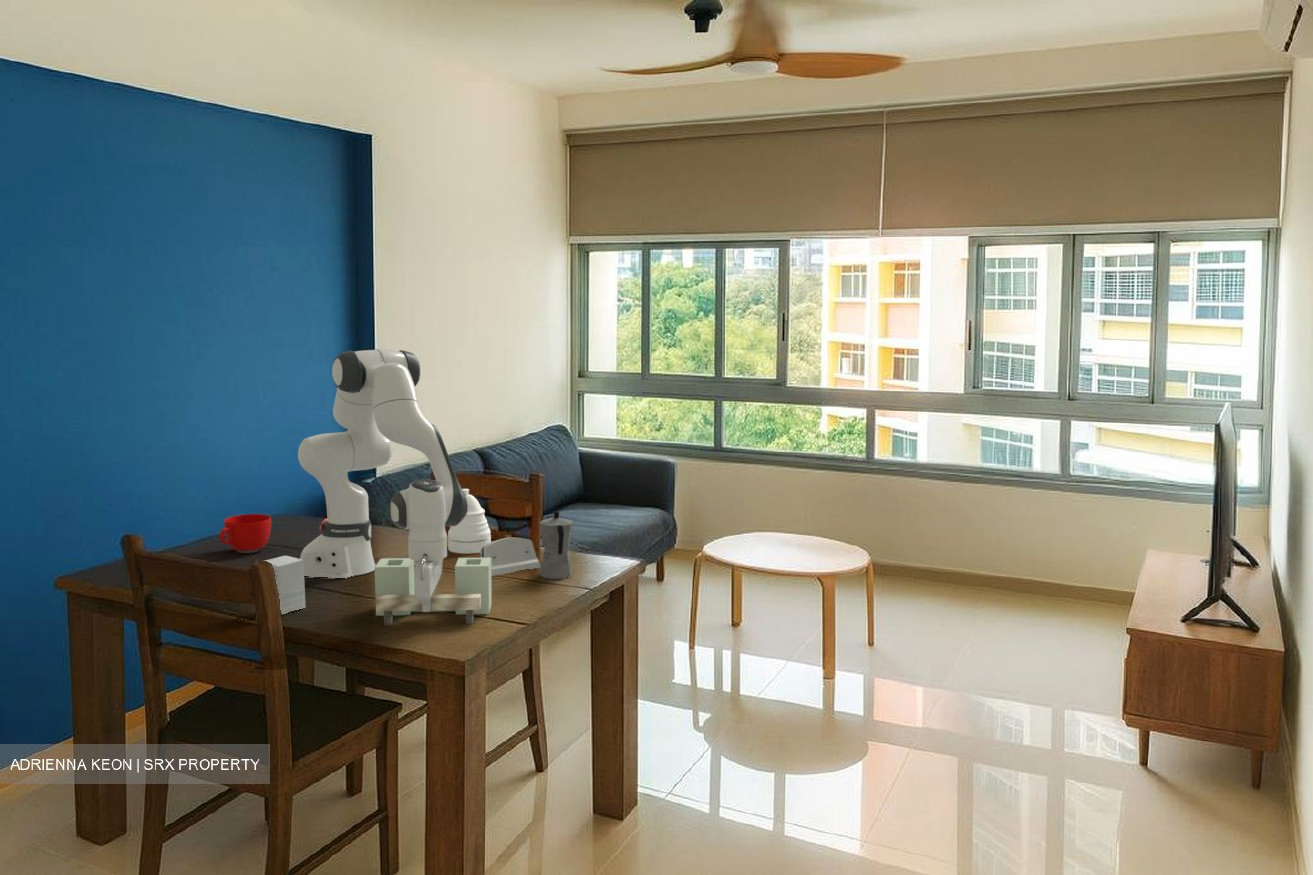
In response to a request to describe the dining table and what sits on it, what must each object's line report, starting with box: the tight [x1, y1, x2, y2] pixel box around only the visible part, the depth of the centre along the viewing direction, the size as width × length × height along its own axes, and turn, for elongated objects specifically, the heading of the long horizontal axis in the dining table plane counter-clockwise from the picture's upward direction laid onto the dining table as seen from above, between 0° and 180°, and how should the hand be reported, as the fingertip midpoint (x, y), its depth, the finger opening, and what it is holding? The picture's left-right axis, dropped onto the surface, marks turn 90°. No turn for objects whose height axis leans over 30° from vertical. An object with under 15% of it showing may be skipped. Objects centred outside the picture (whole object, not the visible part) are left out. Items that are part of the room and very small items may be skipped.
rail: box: [375, 593, 481, 626], centre depth 239 cm, size 24×3×6 cm, turn 95°
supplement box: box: [264, 555, 307, 615], centre depth 246 cm, size 7×7×13 cm
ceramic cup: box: [219, 513, 272, 551], centre depth 299 cm, size 13×17×10 cm
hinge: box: [480, 537, 541, 577], centre depth 286 cm, size 17×5×10 cm, turn 127°
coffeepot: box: [539, 510, 574, 580], centre depth 279 cm, size 15×9×18 cm, turn 15°
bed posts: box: [374, 557, 493, 616], centre depth 248 cm, size 27×8×12 cm, turn 95°
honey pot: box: [447, 488, 492, 555], centre depth 308 cm, size 13×13×18 cm
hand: (428, 606), depth 238 cm, fingers open, 5 cm apart
